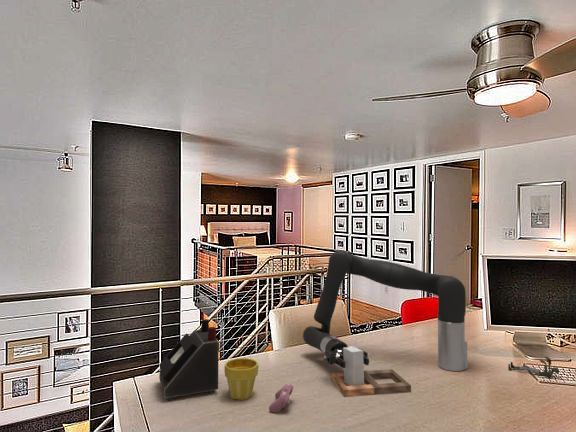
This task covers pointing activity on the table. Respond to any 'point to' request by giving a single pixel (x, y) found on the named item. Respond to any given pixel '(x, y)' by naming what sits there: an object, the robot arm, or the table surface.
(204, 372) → the voltmeter
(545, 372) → the zombie figurine
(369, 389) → the brown flat frame
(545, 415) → the table surface
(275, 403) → the video game controller
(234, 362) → the plant pot
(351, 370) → the skincare box
